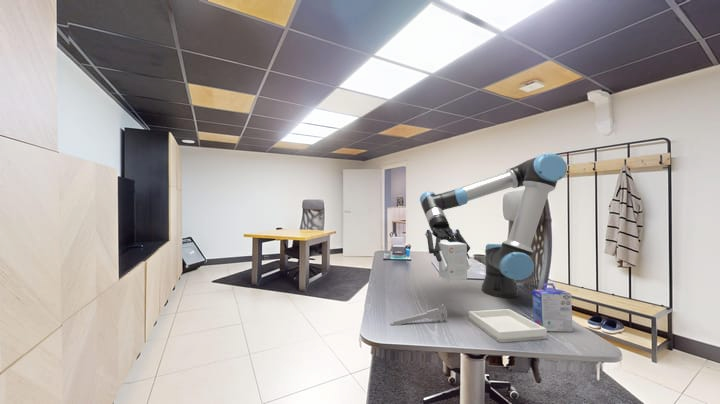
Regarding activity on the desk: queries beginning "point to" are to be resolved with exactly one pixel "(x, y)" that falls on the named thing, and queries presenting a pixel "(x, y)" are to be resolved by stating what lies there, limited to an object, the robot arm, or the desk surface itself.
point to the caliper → (424, 316)
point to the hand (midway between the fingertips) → (457, 267)
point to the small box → (454, 261)
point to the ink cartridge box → (552, 309)
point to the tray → (507, 325)
